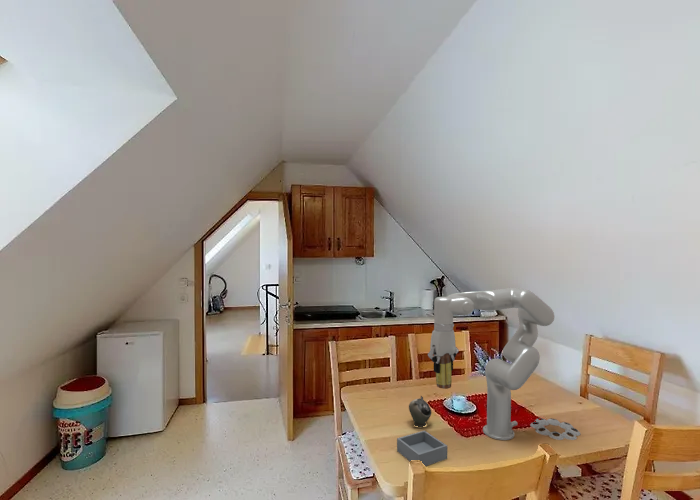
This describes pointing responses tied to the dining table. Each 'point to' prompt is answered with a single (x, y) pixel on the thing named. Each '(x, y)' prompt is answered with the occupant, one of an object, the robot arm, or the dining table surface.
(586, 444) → the dining table surface
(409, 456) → the box
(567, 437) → the grey ring with holes
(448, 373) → the sauce bottle
